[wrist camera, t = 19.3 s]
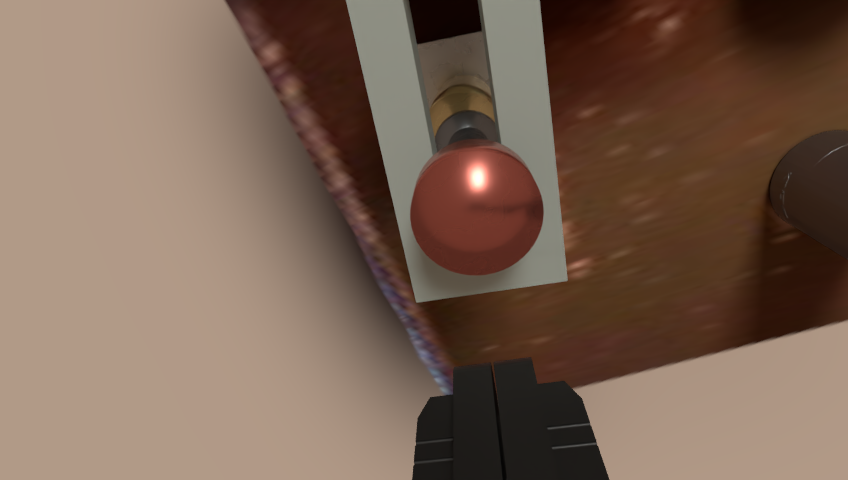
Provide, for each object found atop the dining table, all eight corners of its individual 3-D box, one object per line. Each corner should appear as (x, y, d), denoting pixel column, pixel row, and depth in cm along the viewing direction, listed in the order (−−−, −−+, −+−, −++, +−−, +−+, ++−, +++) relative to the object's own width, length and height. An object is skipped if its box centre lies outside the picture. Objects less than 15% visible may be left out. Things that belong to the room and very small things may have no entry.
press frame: (483, -97, 40) (524, -252, 17) (515, 153, 47) (573, 279, 24) (383, -73, 41) (293, -189, 18) (430, 168, 48) (410, 303, 25)
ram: (504, 93, 29) (535, 139, 18) (515, 177, 31) (550, 265, 20) (418, 109, 30) (397, 164, 19) (434, 191, 32) (424, 284, 21)
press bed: (517, 23, 43) (520, 23, 41) (532, 150, 47) (535, 155, 45) (389, 49, 44) (387, 51, 43) (415, 171, 49) (413, 177, 47)
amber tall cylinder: (493, 71, 43) (502, 92, 30) (496, 134, 45) (507, 178, 32) (430, 78, 43) (414, 101, 30) (437, 139, 45) (424, 185, 32)
